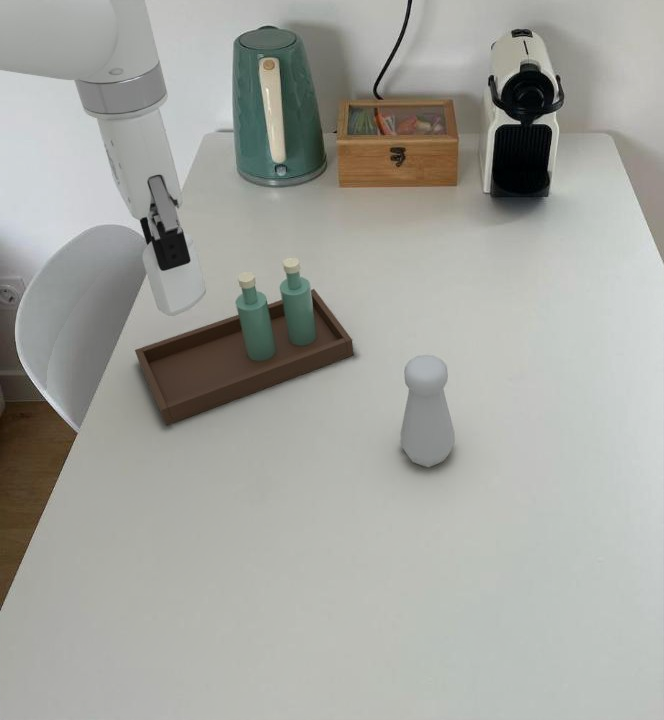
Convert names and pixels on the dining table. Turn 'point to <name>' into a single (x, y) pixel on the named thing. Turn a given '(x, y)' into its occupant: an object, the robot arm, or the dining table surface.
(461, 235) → the dining table surface
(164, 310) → the white plastic bottle
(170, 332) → the dining table surface
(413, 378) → the salt shaker
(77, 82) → the robot arm
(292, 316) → the green bottle
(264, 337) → the green bottle
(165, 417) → the tray
